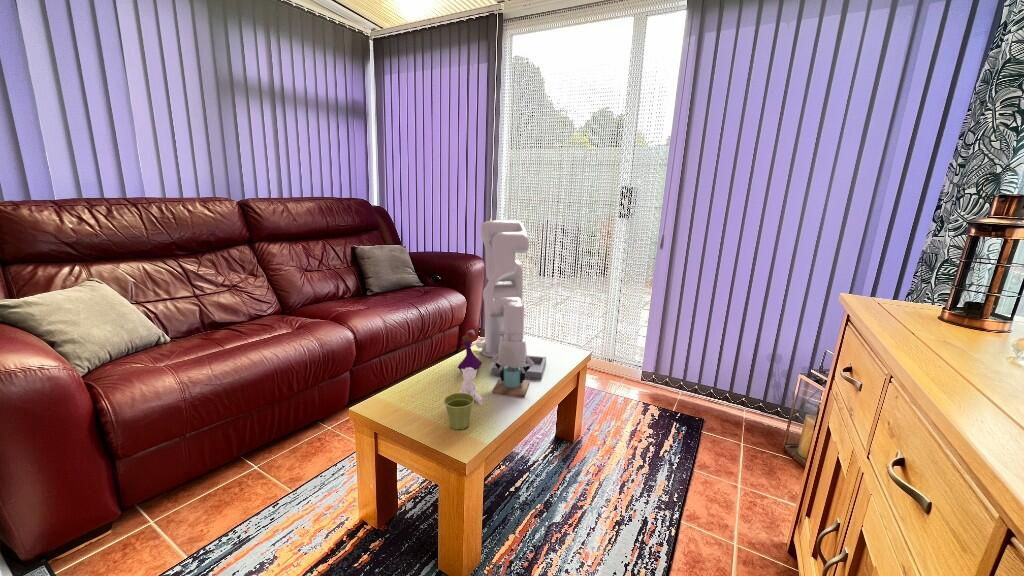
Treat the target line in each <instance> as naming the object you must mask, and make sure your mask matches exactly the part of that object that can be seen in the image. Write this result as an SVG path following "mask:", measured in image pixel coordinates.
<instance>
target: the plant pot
mask: <svg viewBox="0 0 1024 576" xmlns="http://www.w3.org/2000/svg"><path fill="white" fill-rule="evenodd" d="M443 404H444V405H445V408H446V411H447V415H448V422H449V427H450V426H451V427H450V428H452V429H453V428H454V429H453V430H455V429H462V430H464V429H466V428H468V427H469V426H470V423H471V414H472V407H473V405H474V404H475V403H474V397H473V396H472V395H470V394H467V393H460V392H456V393H451V394H449V395H447V396H445V397H444V399H443Z"/></svg>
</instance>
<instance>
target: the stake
mask: <svg viewBox="0 0 1024 576" xmlns="http://www.w3.org/2000/svg"><path fill="white" fill-rule="evenodd" d="M509 371H516V367H509ZM530 384H531V383H530V380H526V379H525V380H523V383H521V386H519V387H515V388H511V387H506V386H505V385H504V384H503V381H501V378H500V377H499V378H498V379H497V381H496V383H495V384H494V387H493V388H492V391H491V395H497V396H507V397H516V398H526V395H527V391H528V389H529V387H530Z"/></svg>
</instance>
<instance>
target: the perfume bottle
mask: <svg viewBox="0 0 1024 576" xmlns="http://www.w3.org/2000/svg"><path fill="white" fill-rule="evenodd" d="M469 333H471V334H472V335H473V336H474V337H475V336H476V332H475V330H474V329H471V330H468V331H467V332H466V334H465V335H463V336H462V340H461V344H462V345H463V346H464V347H465V350H466V355H465V357H464V358H463V359H462V361H461V362H460V363H459V364H458V365H457V368H458V369H459V370H460V372H461V373H462V374H463V372H462V370H461V369H465V368H469V367H471V368H473V369H474V370H477V369H478V370H477V372H478V371H479V369H480V368H481V366H482V365H483V362H482V361H481V360H480V359H479V358H478V357H477V356H476V355H475V354H474V353H473V350H472V348H471V344H472V343H473V342H472V340H471V337H470V336H469V335H468V334H469Z"/></svg>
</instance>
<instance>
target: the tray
mask: <svg viewBox="0 0 1024 576" xmlns="http://www.w3.org/2000/svg"><path fill="white" fill-rule="evenodd" d="M527 356H528V357H529V358H530V359H531V360H532V361H533V362H534V365H533V366H532V367H531V368H529V370H527V371H526V372H525V379H532V380H541V381H542V378H543V375H544V372H545V368H546V365H547V356H539V355H538V356H537V355H527ZM497 361H498V359H497ZM528 364H529V363H528V362H527V361H526V364H525V367H526V366H527V365H528ZM504 367H506V366H504ZM491 375H493V376H500V371H499V369H498V368H497V367H496V365H495V364H494V363H493V364H492V367H491Z"/></svg>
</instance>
